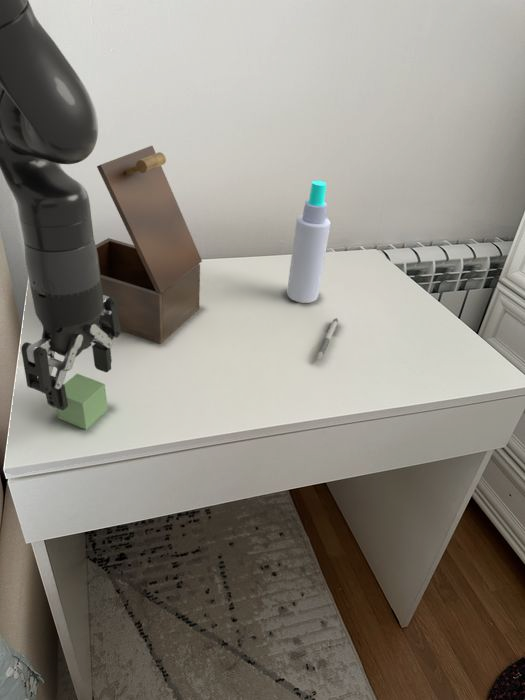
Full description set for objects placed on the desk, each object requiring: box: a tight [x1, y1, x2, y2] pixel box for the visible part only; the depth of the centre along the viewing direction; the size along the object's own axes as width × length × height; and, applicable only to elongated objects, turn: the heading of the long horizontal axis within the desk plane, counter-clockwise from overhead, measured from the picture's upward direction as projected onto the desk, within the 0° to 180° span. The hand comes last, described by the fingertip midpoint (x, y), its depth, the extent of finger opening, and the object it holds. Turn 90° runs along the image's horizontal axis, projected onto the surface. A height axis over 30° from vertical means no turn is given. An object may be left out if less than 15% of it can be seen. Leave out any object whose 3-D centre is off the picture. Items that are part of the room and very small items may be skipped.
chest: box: [95, 237, 201, 345], centre depth 91 cm, size 19×13×9 cm
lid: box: [96, 145, 203, 294], centre depth 81 cm, size 20×13×5 cm
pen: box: [316, 317, 339, 362], centre depth 90 cm, size 1×14×1 cm, turn 161°
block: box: [56, 373, 108, 431], centre depth 70 cm, size 4×4×4 cm
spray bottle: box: [286, 180, 331, 304], centre depth 97 cm, size 6×6×22 cm
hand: (82, 387), depth 69 cm, fingers open, 8 cm apart
